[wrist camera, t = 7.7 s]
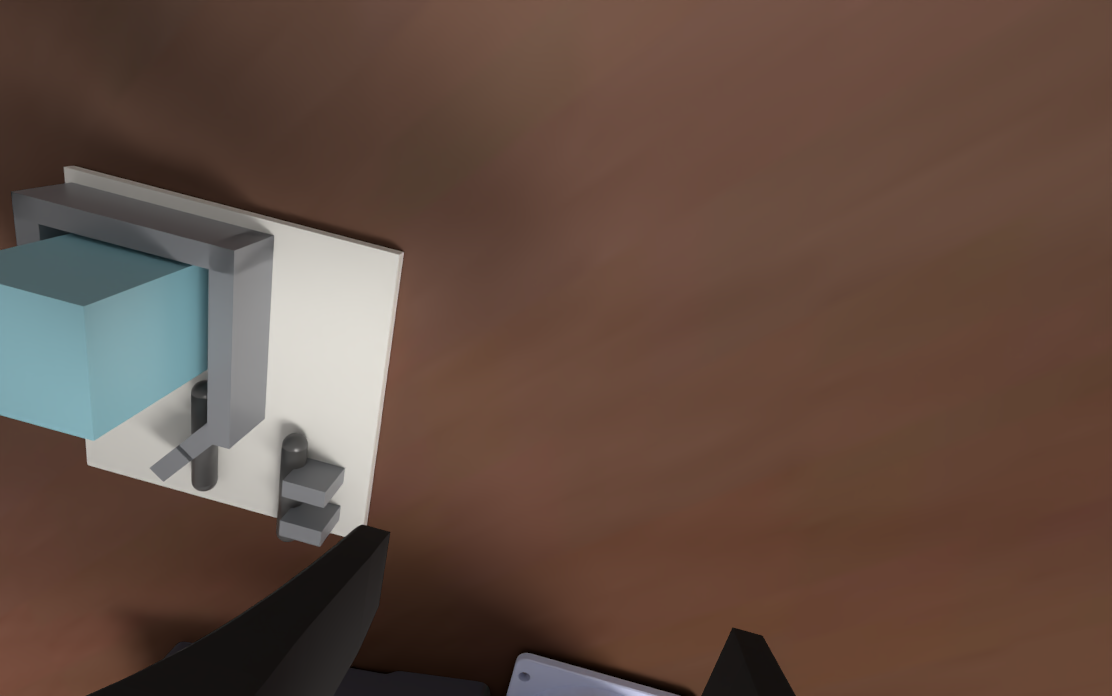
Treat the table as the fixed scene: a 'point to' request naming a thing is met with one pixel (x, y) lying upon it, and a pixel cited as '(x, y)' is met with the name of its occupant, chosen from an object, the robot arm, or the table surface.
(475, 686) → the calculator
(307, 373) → the board
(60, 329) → the pale blue cube
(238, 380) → the end holder
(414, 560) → the table surface
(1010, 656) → the table surface
